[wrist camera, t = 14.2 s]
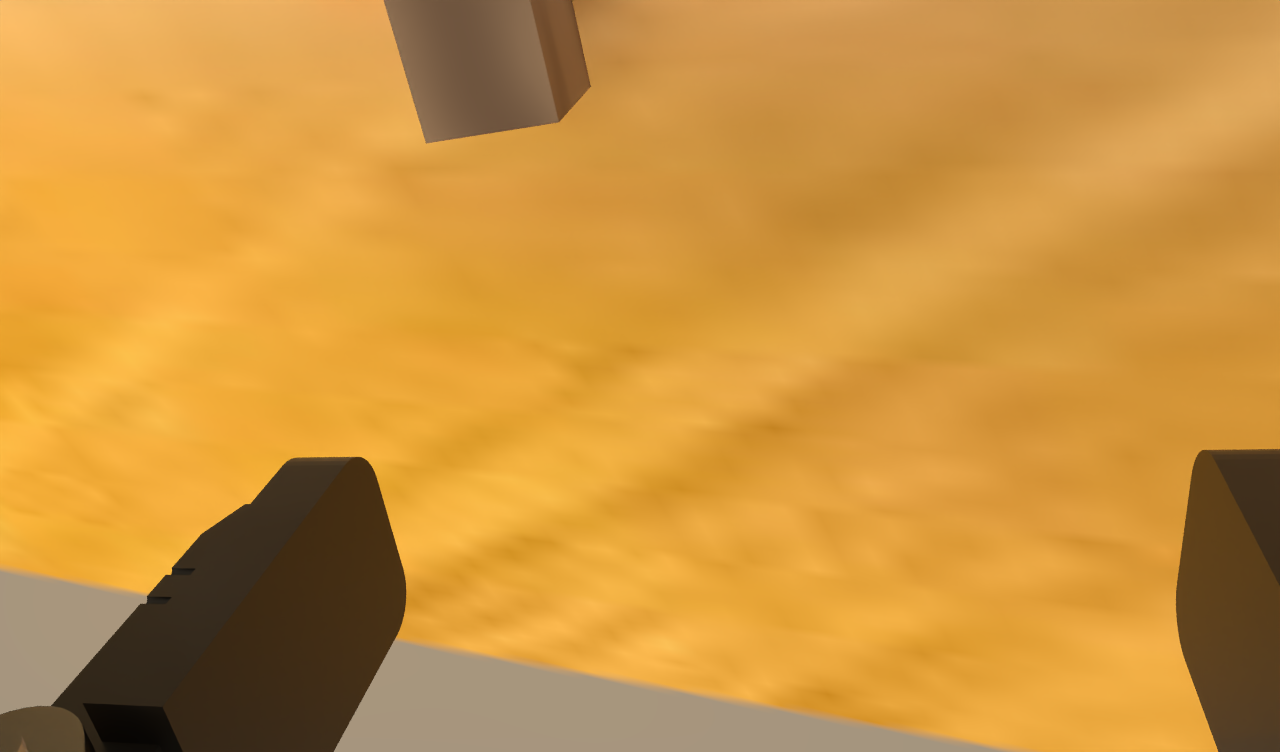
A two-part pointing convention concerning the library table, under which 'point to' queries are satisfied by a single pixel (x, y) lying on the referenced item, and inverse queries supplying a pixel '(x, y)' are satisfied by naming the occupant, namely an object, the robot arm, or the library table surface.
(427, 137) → the walnut bar
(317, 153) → the library table surface
